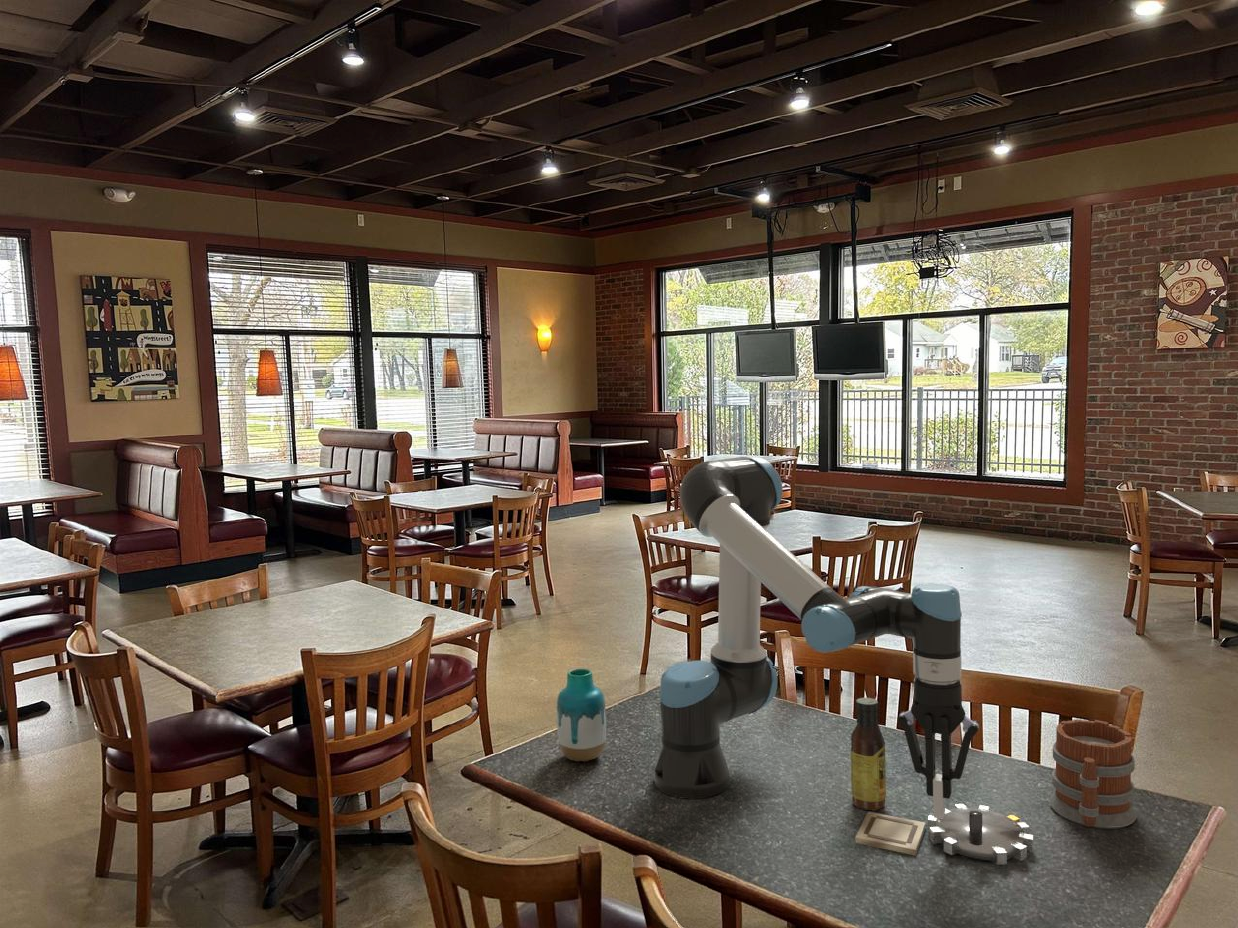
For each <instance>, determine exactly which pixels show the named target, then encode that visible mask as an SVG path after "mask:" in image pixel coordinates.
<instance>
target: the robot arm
mask: <svg viewBox="0 0 1238 928" xmlns="http://www.w3.org/2000/svg"><path fill="white" fill-rule="evenodd" d="M782 497H783V482H782V480H781V477H780V474H779V473H778V471H777V470H776V469H775V468H774V466H773V464H772V463H771V462H769V461H768V460H766V459H765V458H762V457H758V456H739V457H732V458H731V457H730V458H725V459H718V460H707V461H702V462H700V463H698V464H696V465H694V466H693V467H691V468H690V469H689V470H688V472H687V473H686V474H685V475H684V476H683V479H682V481H681V485H680V489H679V501H680V502H679V503H680V505H681V509H682V510H683V513H684V515H685V516H686V518H687V520H688V521H689V522H690V524H692V525H693V527H694V528H695V529H696V530H697V531H698V532H700V534H702V535H703V536H704V537H707V538H710V537H711V538H714V539H715V540H716V542H717V543H719V560H718V562H719V565H718V566H719V569H718V570H719V571H718V621H717V622H718V624H717V625H718V628H717V630H718V631H717V632H718V633H717V635H718V636H717V637H718V638H717V643H715V644H714V645H713V646H712V647H711V649H710V662H709V661H706V660H696V659H695V660H691V661H683V662H682V661H681V662H679V663H676V664H674V665H671V666H669V667H668V668H667V669H666V670H665V671H664V672H663V673H662V675H661V678H660V685H659V686H660V689H659V692H658V693H659V701H660V702H659V703H660V719H661V721H660V725H661V729H660V730H661V747H660V750H659V753H658V756H657V761H656V764H655V766H654V770H653V780H654V781H653V782H655V783H654V786H655V785H656V786H657V787H656V786H655V787H656V788H657V789H658V790H659V791H660V792H662V793H664V794H665V793H666V794H665V795H668V796H671V797H674V796H677V797H676V798H679V797H683V798H682V799H688V798H691V800H693V799H696V800H697V799H705V798H711V797H714V796H717V795H719V794H721V793H722V792H723V793H724V791H725V790H727V789H728V787H729V786H730V769H729V766H728V763H727V761H726V758H725V755H724V752H723V749H722V747H721V742H720V741H721V740H720V739H721V738H720V725H722V724H724V723H727V722H730V721H733V720H735V719H738V718H740V717H743V716H745V715H750V714H753V713H756V712H758V711H760V710H761V709H763V708H765V707H766V706H768V705H769V704H770V703H771V702H772V701H773V699H774V697H775V696H776V694H777V689H778V673H777V670H776V669H775V668H774V667H773V666H774V664H773V662H772V660H771V659H770V658H769V657H768V656H767V654H768V653H767V651H766V649H765V648H764V647H763V646H762V645H761V643H760V641H761V640H760V639H761V638H760V637H761V601H762V600H761V599H762V598H761V597H762V595H761V592H762V585H764V587H766V588H767V589H768V591H770V592H771V593H772V594H773V595H774V596H775V597H776V598H777V599H778V600H779V601H780V602H781V603H783V605H784V606H786V608H788V609H789V610H790V611H791V612H792V613H793V614H794V615H795V616H797V618H798V619H799V620H800V621H801V624H800V626H801V633H802V635H803V636H804V638H805V642H806V644H807V645H808V646H809V647H810V648H811V649H813V650H814V651H816V652H819V653H825V654H826V653H831V652H836V651H843V650H845V649H847V648H849V647H851V646H854V645H857V644H859V643H861V642H868V641H869V640H872V639H876V638H878V637H881V636H884V635H893V636H896V637H903V638H906V639H912V648H913V649H912V651H913V652H912V654H913V655H912V657H913V662H912V663H913V665H912V666H913V675H914V676H915V677H914V679H913V704H912V705H911V707H910V709H909V710H907V711H901V712H900V714H899V716H898V717H897V722H898V724H899V725H900V727H901V728H902V729H903V731H904V734H905V738H906V743H907V746H908V750H909V753H910V758H911V760H912V765H913V769H914V772H916V773H917V774H921V775H924V776H925V778H926V779H925V780H926V783H925V784H926V788H925V789H926V794H927V796H929V797H932V803H933V804H932V805H933V808H932V809H933V811H932V813H933V815H932V816H934V818H940V819H943V817H944V814H945V809H946V799H948V800H949V799H950V798H951V796H952V780H955V779H956V780H960V779H961V778H962V776H963V772H964V770H965V769H964V768H965V765H966V761H967V758H968V754H969V750H970V747H971V743H972V739H973V738H974V736H975V735H976V734H977V733H978V731H979V727H980V722H979V721H977V720H972V719H971V718H969V717H968V716H967V715H966V712H965V709H964V706H963V697H962V696H963V693H962V691H963V690H962V689H963V688H962V685H963V684H962V681H961V680H960V679H961V678H962V649H961V638H962V637H961V636H962V635H961V630H962V629H961V627H962V625H961V624H962V622H961V621H962V617H963V616H962V615H963V613H962V611H961V598H960V592H959V590H958V589H957V588H955V586H952V585H949V584H944V583H920V584H917V585H915V586H914V587H913V588H912V591H911V593H909V592H903V591H898V590H893V589H888V588H884V587H879V586H867V585H866V586H865V585H863V586H858V587H856V588H855V589H854V591H853V592H852V593H850V594H849V597H847V598H843V597H842V596H841V595H840V594H839V593H838V592H836V591H835V590H834V589H833V588H832V587H831V586H830V585H828V584H827V582H825V581H824V580H823V579H822V578H820V577H819V576H818V575H817V574H816V573H815V572H814V571H813V570H812V569H810V568H809V567H808V566H807V565H806V564H805V563H804V562H803V561H801V560H800V559H799V558H798V557H797V556H796V555H794V554H793V552H791V551H790V550H789V549H788V548H787V547H786V546H784V545H783V543H781V542H780V541H779V540H778V539H776V537H775V536H774V535H773V534H771V533H770V532H769V531H768V530H766V529H767V528H768V527H769V526H770V525H771V512H772V511H773V510H775V509H776V508H777V507H778V505H779V504H780V503H781V501H782ZM915 719H916V721H917V723H919V725H920V727H921V728H922V729H923V731H924V741H925V745H924V746H925V747H924V748H925V762H924V758H923V753H922V751H921V747H920V746H921V745H920V743H919V742H920V741H919V739H918V734H917V732H916V728H915V724H914V722H915ZM960 724H962V731H963V732H964V735H963V738H962V741H961V745H960V749H959V753H958V756H957V760H956V763H955V767H953V768H952V765H953V763H952V761H953V760H952V734H953V732H955V730H956V729H957V728H958V727H959V726H960ZM936 734H938V735H940V741H941V773H936V770H937V767H936Z"/></svg>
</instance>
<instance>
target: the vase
mask: <svg viewBox="0 0 1238 928" xmlns="http://www.w3.org/2000/svg"><path fill="white" fill-rule="evenodd" d="M566 674H567V675H566V687H564V688H563V689H561V691H559V692H558V696H557V700H556V725H557V726H556V729H557V731H556V732H557V737H558V738H557V739H558V744H559V745H558V746H559V748H560V751H561V753H562V755H563V756H564V757H566V758H567V759H569V760H571V761H573V760H574V762H579V761H583V762H590V761H592V759H593V760H596V759H597V758H598V757H599V756H601V754H602V753H603V752H604V749H605V747H606V743H607V711H606V701H605V696H604V693H603V692H602V689H600V688H599V687H597V686H595V684H594V679H593V671H592V670H591V669H588V668H582V667H581V668H579V667H578V668H573V669H571V670H569V671H568V672H567V673H566ZM589 760H590V761H589Z"/></svg>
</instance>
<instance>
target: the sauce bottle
mask: <svg viewBox="0 0 1238 928" xmlns="http://www.w3.org/2000/svg"><path fill="white" fill-rule="evenodd" d="M855 708H856V718H857V719H856V726H855V727H854V729H853V730H852V732H851V736H850V737H851V738H850V742H851V744H850V745H851V748H850V771H851V773H850V774H851V775H850V778H851V779H850V780H851V783H850V784H851V795H852V798H851V799H852V800H851V801H852V804H853V805H854V806H855V807H856V808H859V809H862V810H864V811H865V810H867V811H876V810H880V809H882V808H884V806H886V805H885V804H886V798H887V793H886V792H887V788H886V786H887V784H886V781H887V778H886V775H887V772H886V770H887V769H886V742H885V739H884V736H883V734H882V730H881V728H880V725H879V720H878V718H879V717H878V715H879V713H878V710H879V701H878V700H877V699H875V698H872V697H860V698H857V699H855Z"/></svg>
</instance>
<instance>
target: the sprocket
mask: <svg viewBox="0 0 1238 928" xmlns="http://www.w3.org/2000/svg"><path fill="white" fill-rule="evenodd" d="M927 831H928V832H929V840H930V841H931V842H932V843H933V844H941V845H943V852H944V853H947V854H948V855H950V856H954V855H955V854H960V855H962V856H964V857H965V856H966V857H969V858H973V859H977V860H983V861H984V860H985V861H993V862H994V863H995V864H996V865H1007V864H1008V860H1009V859H1013V858H1014V859H1016V860H1018V861H1020V862H1022V861H1023V860H1026V859H1027V858H1028V857H1027V853H1028V852H1027V851H1031V852H1032V851H1033V848H1034V835H1033V834H1030V826H1029V825H1028V824H1027V823H1026V822H1021V821H1020V818H1019V817H1017V816H1015V815H1014V814H1010V815H1007V816H1006V815H1004V814H1002V813H1000V812H997V811H993V810H990V806H987V805H981V804H979V806H978V808H977V807H967V806H966V805H965V804H964V803H956V804H954V808H949V809H947V808H945V814H944V817H943V819H940V818H934V816H933V815H928V818H927Z"/></svg>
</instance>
